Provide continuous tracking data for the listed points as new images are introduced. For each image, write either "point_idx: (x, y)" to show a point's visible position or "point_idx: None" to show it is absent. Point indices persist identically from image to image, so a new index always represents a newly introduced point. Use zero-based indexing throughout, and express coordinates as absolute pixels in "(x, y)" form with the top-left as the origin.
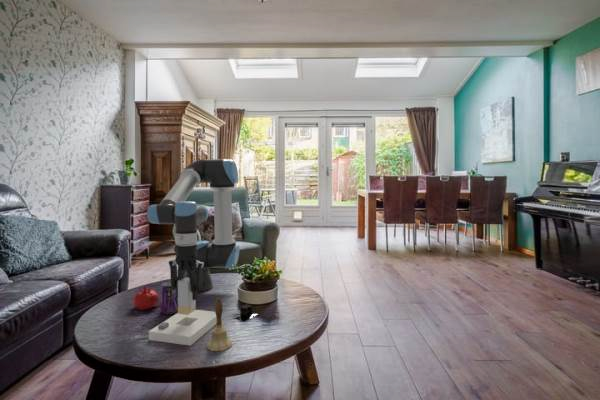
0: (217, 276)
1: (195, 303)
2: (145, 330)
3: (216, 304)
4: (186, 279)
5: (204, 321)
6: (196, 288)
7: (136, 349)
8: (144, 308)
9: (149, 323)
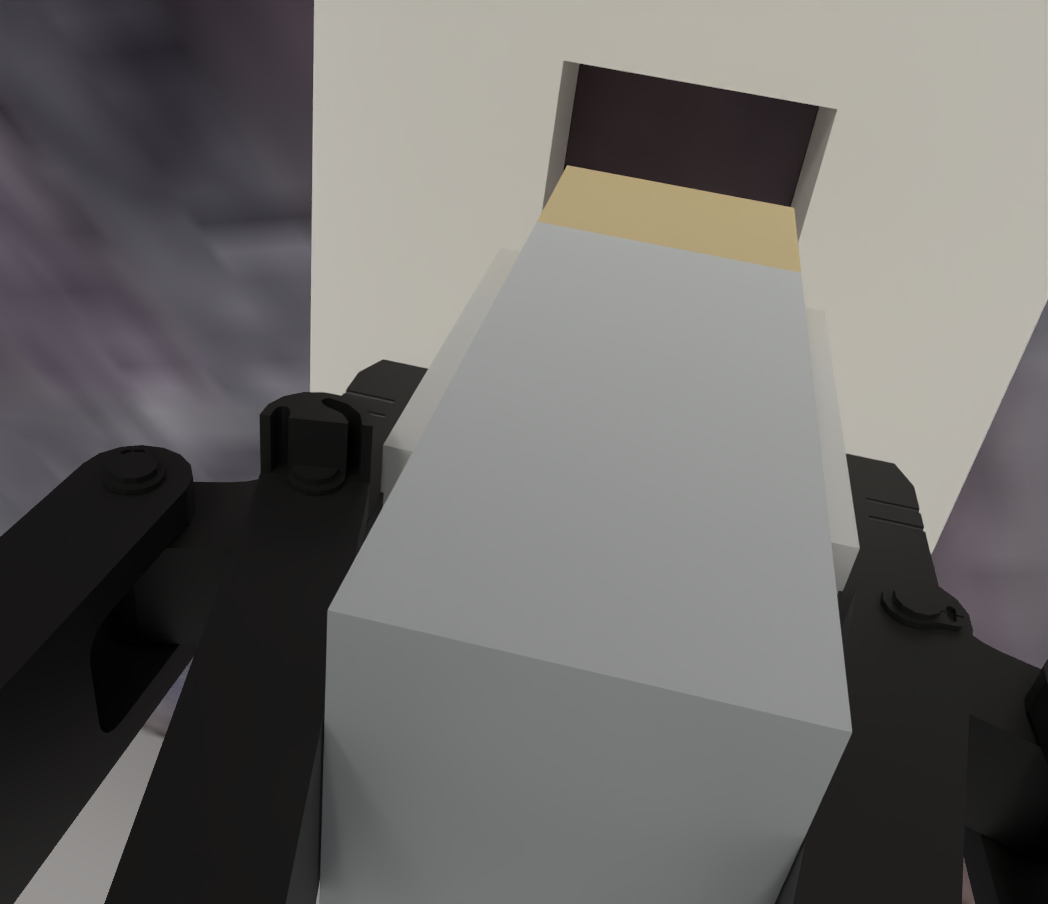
0: None
1: (827, 347)
2: (143, 267)
3: None
4: (528, 863)
5: (980, 225)
6: (969, 829)
7: None
8: None
9: (26, 38)
